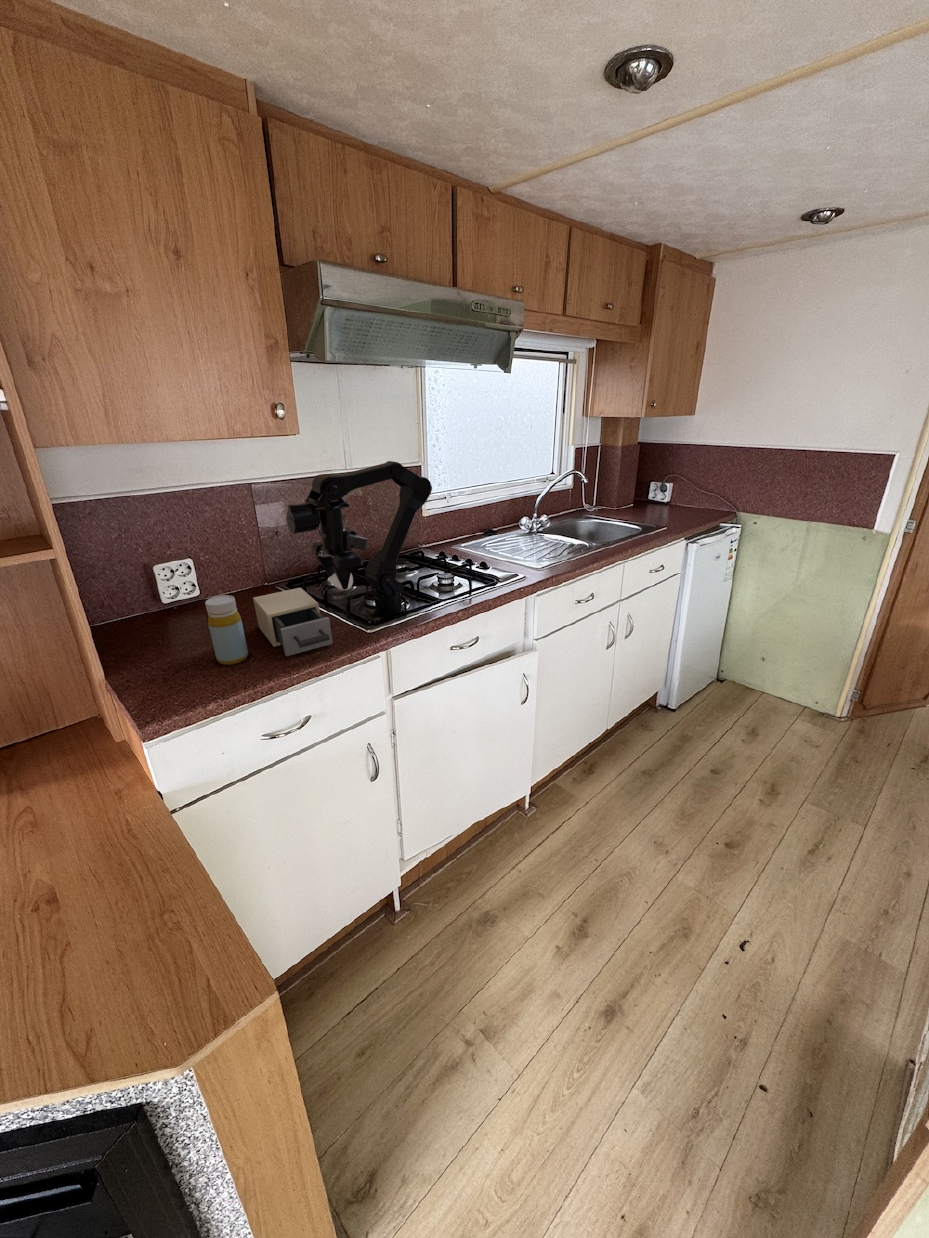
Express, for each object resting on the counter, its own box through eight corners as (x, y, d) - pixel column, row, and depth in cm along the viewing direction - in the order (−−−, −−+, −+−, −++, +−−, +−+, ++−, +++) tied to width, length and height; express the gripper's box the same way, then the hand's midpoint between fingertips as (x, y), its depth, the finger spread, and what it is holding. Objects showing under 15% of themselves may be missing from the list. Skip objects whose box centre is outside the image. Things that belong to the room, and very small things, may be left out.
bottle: (238, 666, 123) (224, 606, 117) (211, 664, 125) (196, 605, 119) (254, 653, 129) (242, 595, 124) (228, 651, 131) (215, 593, 125)
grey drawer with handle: (340, 651, 127) (337, 625, 124) (293, 665, 121) (288, 638, 119) (314, 625, 141) (310, 601, 139) (270, 636, 136) (266, 612, 133)
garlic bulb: (336, 584, 144) (334, 564, 142) (355, 586, 142) (352, 567, 139) (323, 590, 140) (321, 571, 137) (342, 593, 137) (340, 573, 135)
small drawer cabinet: (323, 634, 139) (318, 603, 135) (273, 647, 132) (267, 615, 129) (305, 616, 150) (300, 587, 146) (258, 627, 144) (252, 597, 140)
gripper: (378, 528, 131) (384, 588, 137) (346, 515, 145) (353, 570, 151) (335, 536, 125) (343, 598, 131) (306, 522, 139) (315, 579, 145)
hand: (340, 585), depth 140 cm, fingers closed on garlic bulb, 6 cm apart
